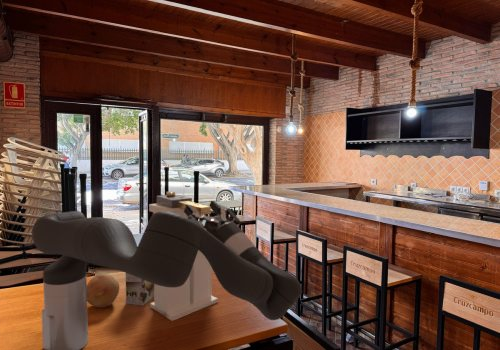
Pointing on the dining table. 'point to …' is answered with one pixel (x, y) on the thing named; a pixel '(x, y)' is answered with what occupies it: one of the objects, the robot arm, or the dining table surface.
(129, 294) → the coffee box
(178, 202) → the wooden handled tool
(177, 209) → the stepped stand
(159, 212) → the robot arm
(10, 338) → the dining table surface
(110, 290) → the onion
